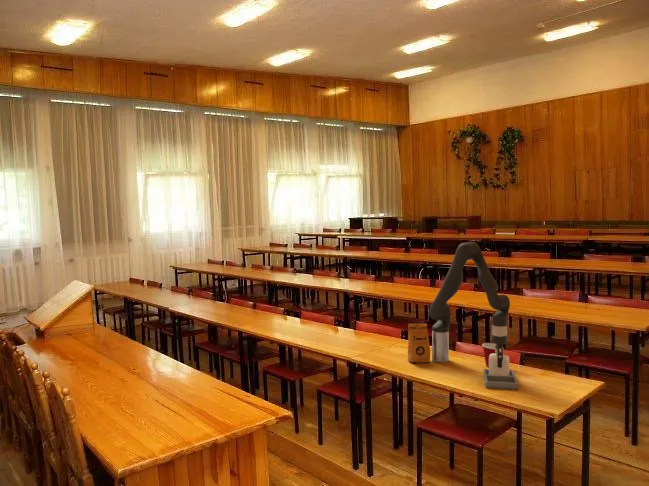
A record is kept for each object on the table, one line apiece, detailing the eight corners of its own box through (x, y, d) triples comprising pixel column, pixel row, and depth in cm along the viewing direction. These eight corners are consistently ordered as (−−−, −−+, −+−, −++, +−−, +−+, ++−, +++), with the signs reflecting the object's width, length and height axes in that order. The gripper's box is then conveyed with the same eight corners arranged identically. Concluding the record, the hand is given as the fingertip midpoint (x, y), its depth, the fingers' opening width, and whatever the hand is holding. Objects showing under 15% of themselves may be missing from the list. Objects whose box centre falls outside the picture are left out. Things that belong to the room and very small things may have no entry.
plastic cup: (503, 370, 295) (503, 348, 294) (482, 369, 297) (482, 347, 296) (501, 364, 305) (501, 342, 304) (481, 363, 307) (481, 342, 306)
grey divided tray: (485, 387, 267) (485, 382, 267) (483, 374, 288) (483, 368, 287) (518, 389, 264) (518, 383, 264) (513, 376, 284) (513, 370, 284)
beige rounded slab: (510, 377, 280) (510, 353, 279) (508, 379, 276) (508, 355, 275) (489, 374, 285) (489, 351, 284) (487, 377, 281) (487, 353, 280)
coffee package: (431, 364, 308) (430, 325, 306) (408, 364, 308) (408, 325, 307) (428, 358, 318) (428, 321, 316) (407, 359, 318) (406, 321, 317)
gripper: (490, 330, 287) (490, 360, 288) (492, 337, 273) (492, 368, 274) (505, 330, 285) (505, 361, 286) (508, 337, 271) (508, 369, 272)
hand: (499, 364), depth 280 cm, fingers open, 8 cm apart
